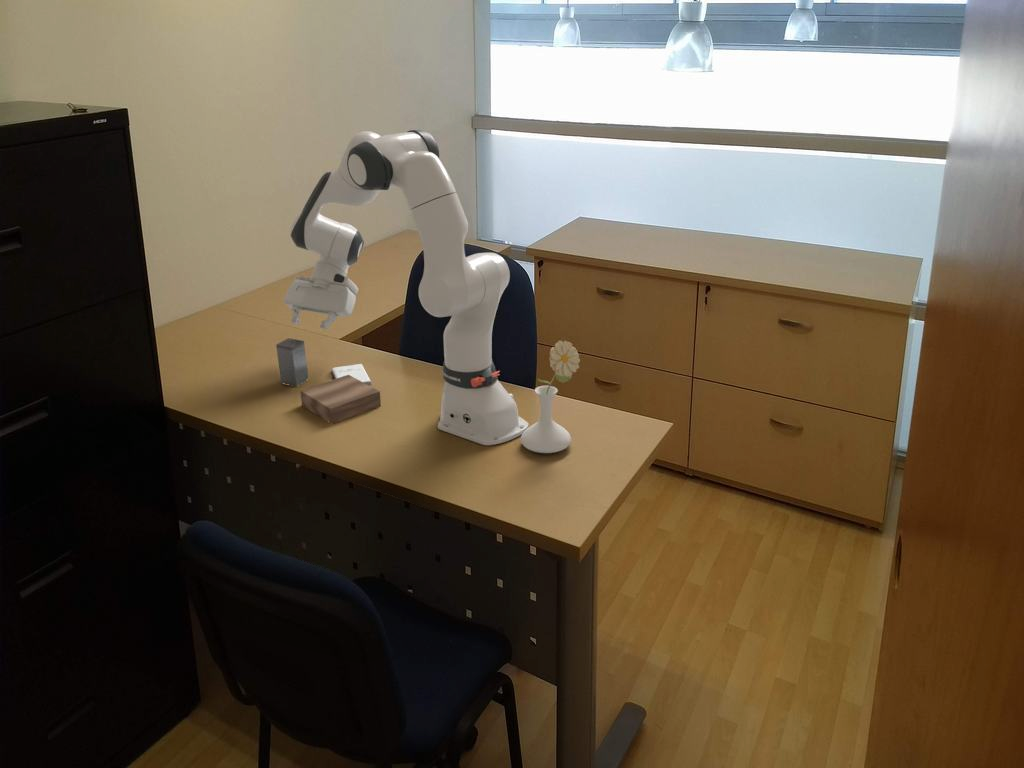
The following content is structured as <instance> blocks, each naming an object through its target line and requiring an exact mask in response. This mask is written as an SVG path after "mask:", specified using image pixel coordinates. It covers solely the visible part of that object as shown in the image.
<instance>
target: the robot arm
mask: <svg viewBox="0 0 1024 768" xmlns="http://www.w3.org/2000/svg"><path fill="white" fill-rule="evenodd" d="M338 166H339V167H338V168H337V169H335V170H333V171H327V172H324V174H323V175H322V176H321V177H320V178H319V180H318V182H317V183H316V185H315V186H314V189H313V190H312V191H311V194H310V196H309V197H308V199H307V201H306V202H305V205H304V207H303V209H302V210H301V211H300V213H299V214H298V215H297V216H296V217H295V219H294V221H293V223H292V224H291V228H290V238H291V240H292V242H293V243H294V244H295V246H296V247H297V248H300V249H303V250H307V251H311V252H313V253H316V254H319V255H320V256H319V259H318V260H317V261H316V262H315V265H314V267H313V270H312V272H311V275H310V277H309V276H308V277H307V276H302V275H301V276H299V277H297V278H295V279H293V281H292V283H291V285H290V286H289V287H288V289H287V291H286V294H285V295H284V296H283V297H284V298H283V302H284V304H285V305H286V306H287V307H288V308H289V309H291V312H292V318H291V321H290V322H291V323H292V324H293V325H299V324H300V322H301V320H302V319H301V318H300V317H299V314H301V312H302V311H306V312H311V313H316V314H324V315H327V316H328V317H327V318H325V320H321V323H320V328H321V329H323V330H327V331H328V330H329V328H330V326H331V325H332V323H334V322H335V321H337V317H342V318H348V317H349V316H351V315H352V312H353V311H354V309H355V308H354V307H355V305H356V301H357V300H356V298H357V296H356V295H358V292H359V290H360V289H359V288H358V286H357V285H356V284H355V283H354V282H353V281H352V280H351V279H350V278H349V277H347V276H348V270H349V268H350V266H352V265H354V264H356V263H357V262H358V259H359V256H360V254H361V251H362V249H363V247H364V244H365V242H364V239H363V237H362V235H361V233H360V230H358V229H357V228H356V227H355V226H353V225H351V224H349V223H347V222H339V221H336V220H334V219H331V218H329V217H327V216H324V215H322V214H321V213H320V212H321V210H323V207H324V206H325V205H328V204H337V205H345V206H351V207H359V206H360V207H361V206H364V205H368V204H369V203H371V202H374V201H375V199H376V198H377V197H378V195H379V194H380V192H381V191H388V190H389V189H390V187H392V186H395V187H397V188H399V189H400V190H401V191H402V193H403V195H404V197H405V200H406V203H407V206H408V209H409V211H410V214H411V216H412V220H413V222H414V224H415V227H416V229H417V232H418V236H419V238H420V242H421V245H422V250H423V260H424V262H423V263H424V267H423V274H422V278H421V280H420V283H419V285H418V298H419V302H420V304H421V306H422V307H423V309H424V310H425V311H426V313H428V314H429V315H430V316H433V317H436V318H444V317H451V318H450V320H449V322H448V323H447V325H446V326H445V329H444V331H443V336H442V337H443V356H444V361H443V363H442V377H443V381H444V386H443V390H442V394H441V407H440V417H439V420H438V423H437V429H438V430H440V431H443V432H446V433H449V434H451V435H454V436H457V437H460V438H463V439H466V440H468V441H472V442H473V443H477V444H479V445H483V446H493V445H498V444H503V443H505V442H509V441H510V440H514V439H516V438H518V437H521V436H522V433H523V432H524V431H525V430H526V429H527V428H529V427H530V425H529V422H528V421H526V420H525V418H522V417H521V416H519V411H518V406H517V403H516V401H515V397H514V394H512V393H509V392H508V391H507V390H506V389H505V387H504V386H503V385H502V383H501V382H500V381H499V379H498V376H500V372H501V370H498V371H497V370H496V366H495V363H494V361H493V358H492V356H493V355H492V353H493V351H492V350H493V349H492V348H493V347H492V344H493V343H492V342H493V341H492V339H493V338H492V337H493V328H494V327H493V326H494V321H495V318H496V313H497V310H498V307H499V303H500V300H501V297H502V295H503V293H504V291H505V289H506V288H507V287H508V285H509V284H510V283H509V282H510V278H511V276H510V275H511V274H510V269H509V268H510V267H509V266H508V263H507V261H506V260H505V259H504V258H503V257H502V256H501V255H499V254H498V253H496V252H477V253H473V254H471V255H467V256H466V252H465V251H466V250H465V239H466V235H467V234H468V231H469V221H468V219H467V217H466V214H465V211H464V208H463V206H462V203H461V201H460V198H459V194H458V193H457V190H456V187H455V185H454V183H453V181H452V179H451V178H450V177H451V176H450V175H449V173H448V171H447V169H446V167H445V166H444V164H443V162H442V161H441V159H440V150H439V146H438V144H437V141H436V140H435V139H434V137H433V135H432V134H430V133H429V132H428V131H426V130H423V129H422V130H421V129H410V130H408V131H405V132H398V133H393V134H392V133H391V134H385V135H380V134H379V133H376V132H374V131H370V130H368V131H367V130H365V131H359V132H357V133H356V134H355V135H353V137H351V139H350V141H349V143H348V144H347V146H346V148H345V150H344V152H343V154H342V157H341V161H340V164H339V165H338Z"/></svg>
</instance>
